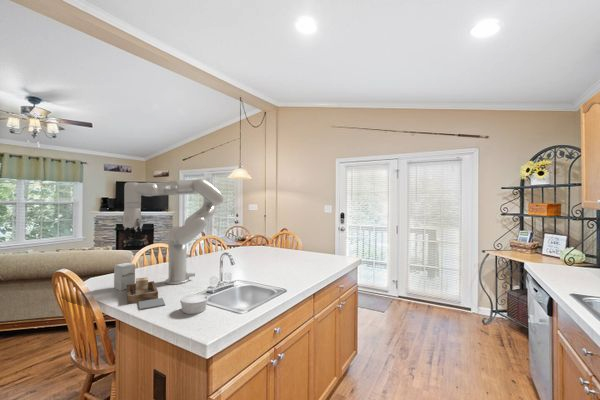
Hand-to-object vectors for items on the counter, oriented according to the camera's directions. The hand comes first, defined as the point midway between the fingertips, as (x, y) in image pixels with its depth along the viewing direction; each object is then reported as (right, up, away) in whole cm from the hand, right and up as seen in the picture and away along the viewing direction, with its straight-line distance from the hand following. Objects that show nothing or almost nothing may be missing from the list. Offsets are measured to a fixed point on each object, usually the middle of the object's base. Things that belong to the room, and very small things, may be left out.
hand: (132, 238), depth 152 cm
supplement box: (-5, -27, +2) cm, 28 cm away
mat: (+21, -27, -22) cm, 41 cm away
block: (+10, -27, -10) cm, 30 cm away
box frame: (+10, -27, -10) cm, 30 cm away
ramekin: (+43, -28, -28) cm, 58 cm away
